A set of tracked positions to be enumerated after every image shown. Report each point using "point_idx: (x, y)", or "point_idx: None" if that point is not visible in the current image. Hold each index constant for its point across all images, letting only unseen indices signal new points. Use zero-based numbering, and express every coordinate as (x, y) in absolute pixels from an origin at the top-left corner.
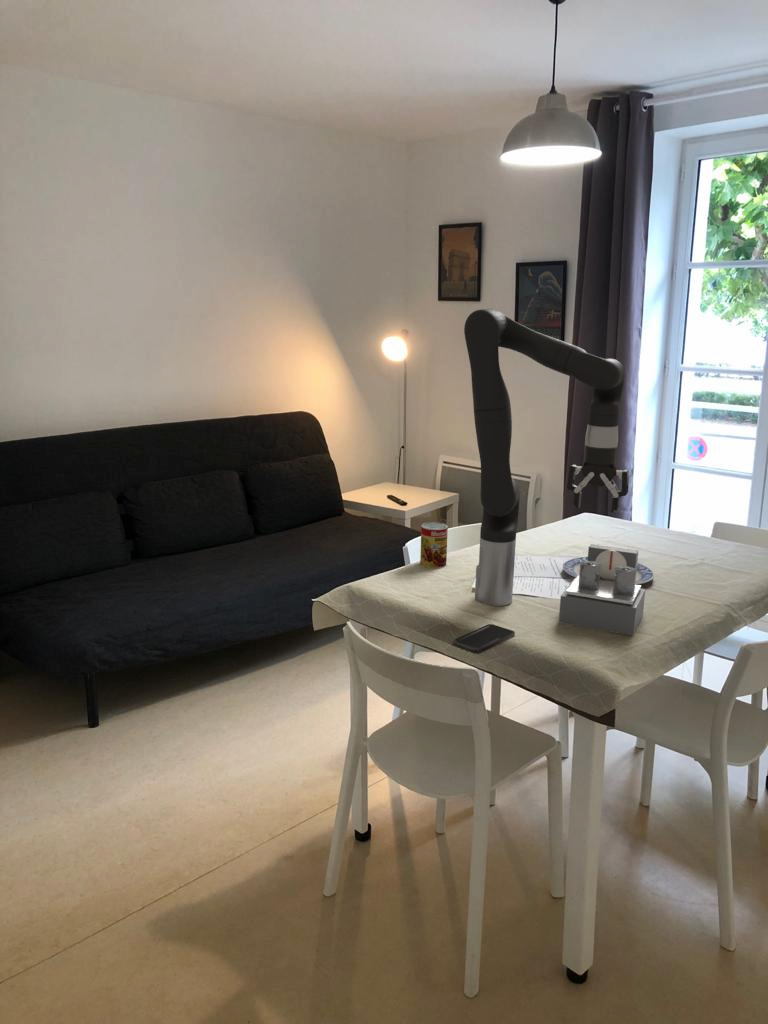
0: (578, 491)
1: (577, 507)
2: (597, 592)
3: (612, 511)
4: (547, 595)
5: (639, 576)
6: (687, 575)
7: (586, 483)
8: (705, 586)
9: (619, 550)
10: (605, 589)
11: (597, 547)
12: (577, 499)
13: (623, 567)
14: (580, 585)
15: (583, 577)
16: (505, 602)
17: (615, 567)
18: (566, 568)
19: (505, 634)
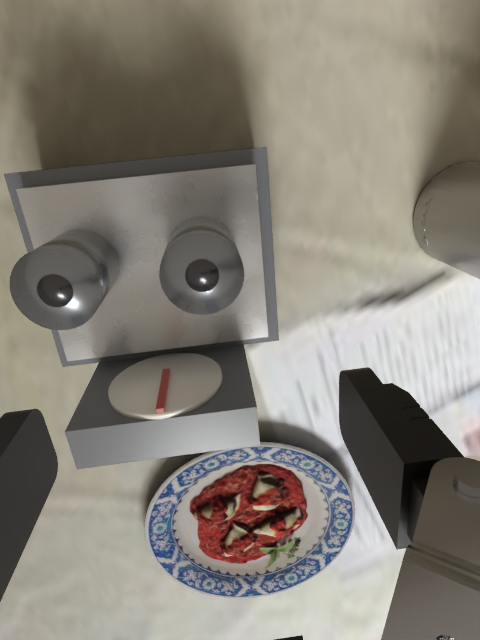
0: (438, 481)
1: (352, 370)
2: (155, 212)
3: (21, 412)
4: (339, 328)
5: (183, 540)
6: (105, 600)
7: (388, 636)
8: (47, 567)
9: (136, 430)
10: (145, 259)
11: (224, 419)
12: (391, 413)
13: (73, 308)
14: (222, 225)
15: (213, 226)
16: (428, 189)
17: (149, 379)
18: (341, 487)
19: None
